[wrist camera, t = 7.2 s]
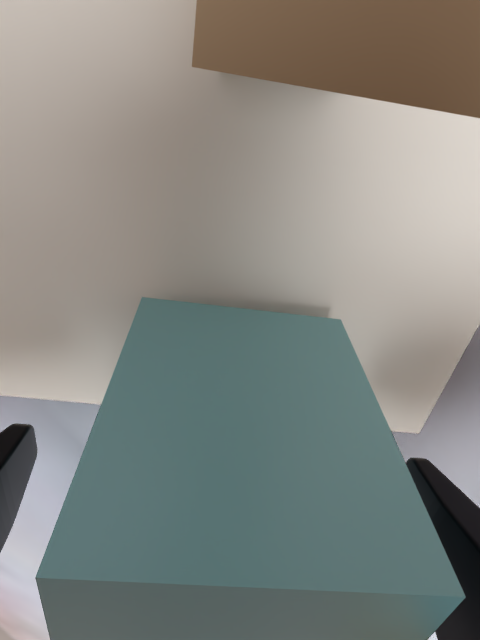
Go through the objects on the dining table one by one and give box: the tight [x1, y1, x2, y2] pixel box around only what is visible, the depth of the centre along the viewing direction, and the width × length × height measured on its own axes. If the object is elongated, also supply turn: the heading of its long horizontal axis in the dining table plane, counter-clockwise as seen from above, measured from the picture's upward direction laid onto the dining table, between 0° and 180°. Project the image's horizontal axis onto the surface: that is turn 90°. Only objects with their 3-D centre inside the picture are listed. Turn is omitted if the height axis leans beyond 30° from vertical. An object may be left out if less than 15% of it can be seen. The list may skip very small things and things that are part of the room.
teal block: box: [36, 297, 466, 640], centre depth 9 cm, size 5×5×7 cm
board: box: [0, 0, 480, 434], centre depth 10 cm, size 14×13×1 cm
